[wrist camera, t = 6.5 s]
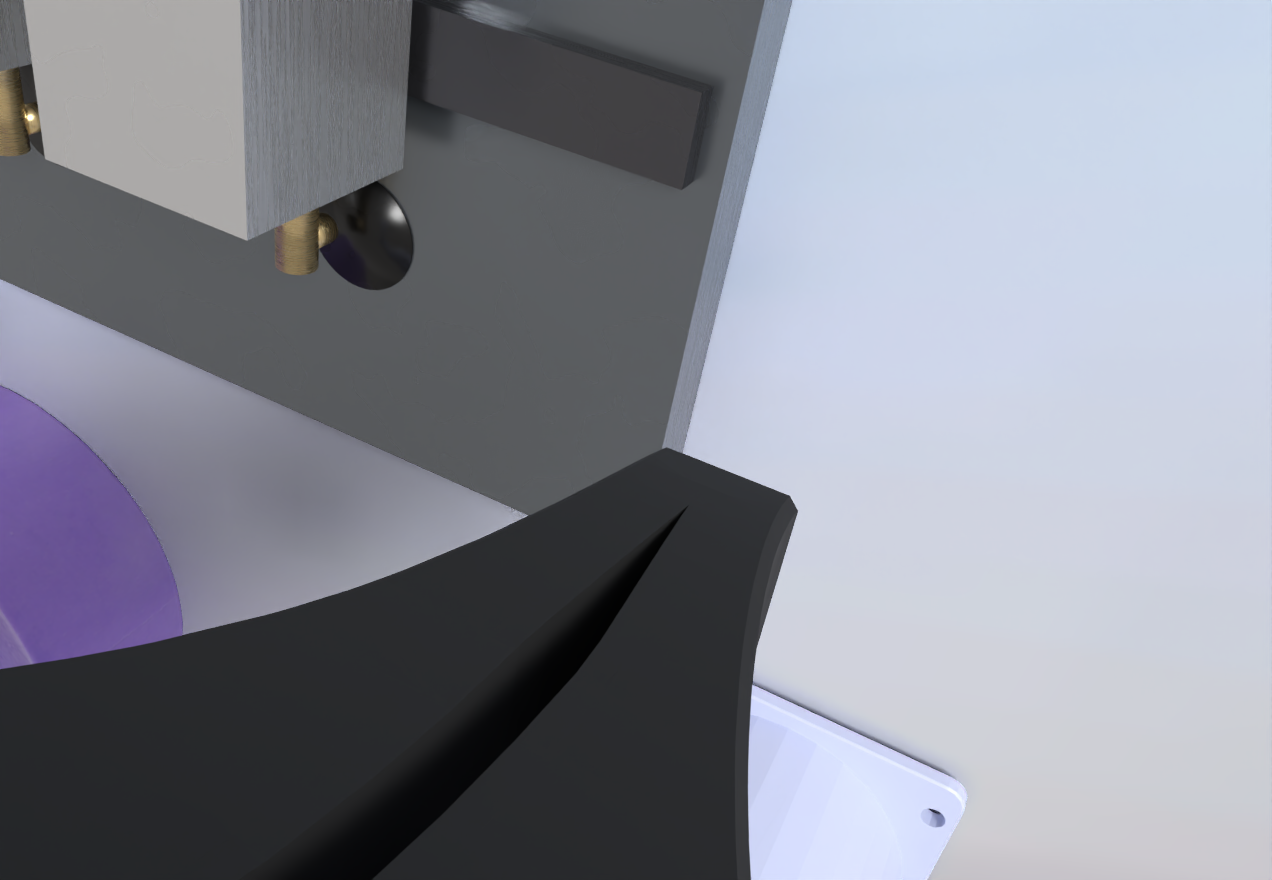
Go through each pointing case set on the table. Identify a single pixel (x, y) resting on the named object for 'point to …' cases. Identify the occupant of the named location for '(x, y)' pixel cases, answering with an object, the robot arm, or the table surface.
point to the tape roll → (72, 549)
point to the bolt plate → (457, 243)
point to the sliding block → (227, 105)
